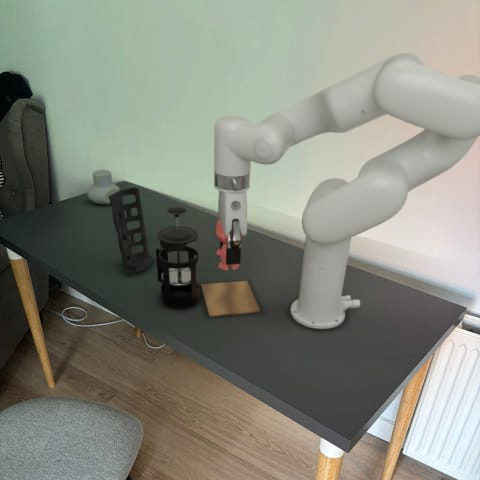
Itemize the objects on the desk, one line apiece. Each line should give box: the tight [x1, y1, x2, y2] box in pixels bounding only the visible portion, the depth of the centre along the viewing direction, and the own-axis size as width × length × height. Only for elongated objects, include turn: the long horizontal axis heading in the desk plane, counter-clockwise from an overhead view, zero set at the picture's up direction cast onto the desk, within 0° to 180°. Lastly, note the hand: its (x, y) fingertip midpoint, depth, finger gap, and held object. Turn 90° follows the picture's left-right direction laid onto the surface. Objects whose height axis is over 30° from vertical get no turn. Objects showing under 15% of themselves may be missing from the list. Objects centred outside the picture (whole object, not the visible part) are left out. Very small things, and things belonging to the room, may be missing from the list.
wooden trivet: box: [200, 280, 261, 317], centre depth 123 cm, size 12×14×1 cm
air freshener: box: [86, 169, 121, 206], centre depth 169 cm, size 11×8×10 cm
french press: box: [155, 205, 201, 310], centre depth 116 cm, size 12×9×23 cm
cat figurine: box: [214, 220, 244, 271], centre depth 115 cm, size 7×7×12 cm
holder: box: [109, 187, 153, 276], centre depth 130 cm, size 11×8×20 cm
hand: (230, 255), depth 117 cm, fingers closed on cat figurine, 6 cm apart
